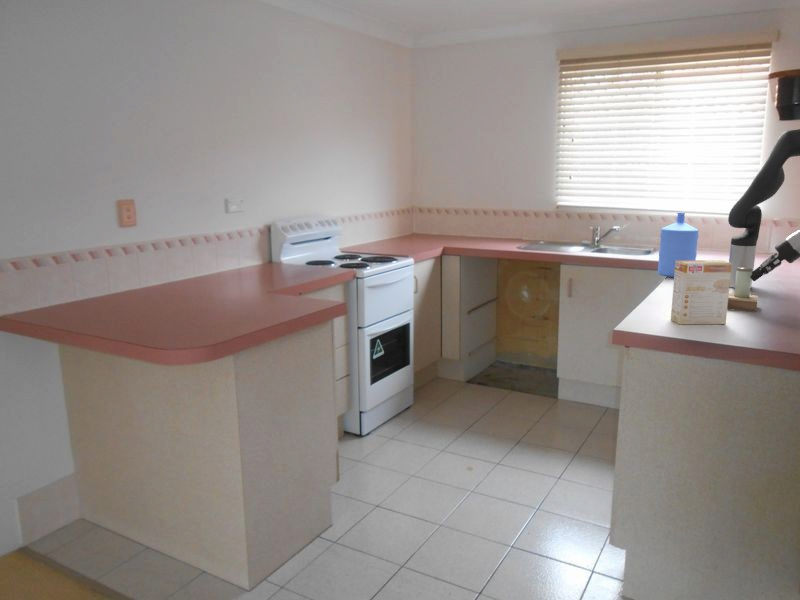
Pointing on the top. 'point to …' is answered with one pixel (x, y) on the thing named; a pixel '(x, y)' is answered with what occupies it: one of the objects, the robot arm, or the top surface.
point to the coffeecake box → (701, 291)
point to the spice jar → (743, 282)
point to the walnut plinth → (742, 303)
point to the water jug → (676, 245)
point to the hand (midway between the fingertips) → (752, 277)
